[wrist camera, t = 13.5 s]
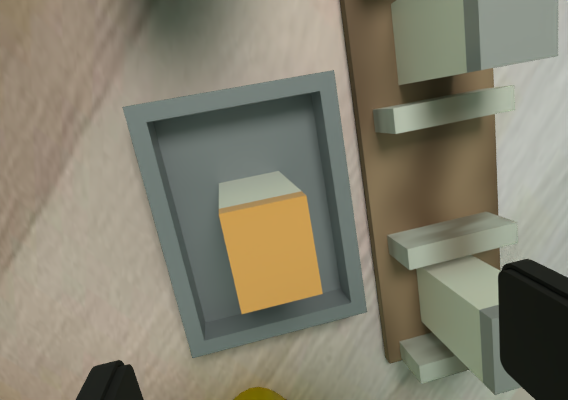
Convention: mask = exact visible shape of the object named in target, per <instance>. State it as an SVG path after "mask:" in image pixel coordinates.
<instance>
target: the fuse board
mask: <svg viewBox="0 0 568 400" xmlns="http://www.w3.org/2000/svg"><path fill="white" fill-rule="evenodd" d="M395 1H396V0H340V5H341V12H342V20H343V28H344V36H345V44H346V52H347V60H348V67H349V75H350V83H351V91H352V99H353V107H354V115H355V122H356V130H357V138H358V146H359V154H360V162H361V169H362V177H363V185H364V193H365V201H366V209H367V217H368V224H369V232H370V240H371V248H372V256H373V264H374V272H375V279H376V287H377V295H378V303H379V311H380V319H381V326H382V334H383V342H384V350H385V357H386V359H387V360H388V362H389V363H394V362H397V361H401V360H403V361H404V362H405V363H406V365H407V366H408V367H409V369H410V370H411V371H412V373H413V374H414V375H415V376H416V378H417V379H418V380H419V382H420V383H421V384H422V383H426V382H429V381H433V380H436V379H439V378H443V377H446V376H449V375H453V374H456V373H460V372H463V371H466V370H470V369H469V368H468V367H467V366H466V365H465V364H464V363H463V362H462V361H461V360H460V359H459V358H458V357H457V356H456V355H455V354H454V353H453V352H452V351H451V350H450V349H449V348H448V347H447V346H446V345H445V344H444V343H443V342H442V341H441V340H440V339H439V338H438V337H437V336H436V335H435V334H434V333H433V332H432V331H431V330H430V329H429V328H428V327H427V326H426V325H425V324H424V323H423V322H422V321H421V311H420V301H419V291H418V280H417V270H416V269H417V268H420V267H424V266H428V265H432V264H436V263H440V262H444V261H448V260H452V259H456V258H460V257H464V256H468V255H472V256H474V257H476V258H478V259H480V260H481V261H483V262H485V263H487V264H489V265H491V266H492V267H494V268H496V269H498V270H500V250H499V248H500V247H504V246H508V245H512V244H515V243H518V235H517V222H515V221H512V220H509V219H506V218H503V217H500V216H498V194H497V165H496V137H495V114H497V113H502V112H507V111H512V110H515V100H514V85H513V86H504V87H495V88H494V80H493V68H490V69H485V70H479V71H474V72H469V73H463V74H458V75H452V76H447V77H441V78H436V79H430V80H425V81H419V82H414V83H409V84H403V85H399V84H398V73H397V63H396V52H395V42H394V32H393V21H392V11H391V4H392V3H393V2H395Z"/></svg>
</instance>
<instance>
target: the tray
mask: <svg viewBox="0 0 568 400" xmlns="http://www.w3.org/2000/svg"><path fill="white" fill-rule="evenodd" d="M123 110H124V114H125V118H126V121H127V125H128V128H129V132H130V135H131V139H132V143H133V146H134V150H135V153H136V157H137V161H138V164H139V168H140V171H141V175H142V179H143V182H144V186H145V189H146V193H147V197H148V200H149V204H150V207H151V211H152V215H153V218H154V222H155V225H156V229H157V232H158V236H159V240H160V243H161V247H162V250H163V254H164V258H165V261H166V265H167V268H168V272H169V276H170V279H171V283H172V286H173V290H174V294H175V297H176V301H177V304H178V308H179V312H180V315H181V319H182V322H183V326H184V330H185V333H186V337H187V340H188V344H189V347H190V351H191V355H192V358H195V357H199V356H203V355H206V354H210V353H214V352H218V351H222V350H225V349H229V348H233V347H237V346H240V345H244V344H248V343H252V342H256V341H259V340H263V339H267V338H271V337H275V336H278V335H282V334H286V333H290V332H294V331H297V330H301V329H305V328H309V327H312V326H316V325H320V324H324V323H328V322H331V321H335V320H339V319H343V318H347V317H350V316H354V315H358V314H362V313H366V312H367V308H366V301H365V294H364V286H363V279H362V272H361V264H360V257H359V250H358V242H357V235H356V228H355V220H354V213H353V206H352V199H351V191H350V184H349V177H348V169H347V162H346V155H345V147H344V140H343V133H342V126H341V118H340V111H339V104H338V96H337V89H336V82H335V74H334V70H332V71H327V72H321V73H315V74H309V75H304V76H298V77H292V78H286V79H281V80H275V81H269V82H263V83H258V84H252V85H246V86H241V87H235V88H229V89H223V90H218V91H212V92H206V93H200V94H195V95H189V96H183V97H177V98H172V99H166V100H160V101H155V102H149V103H143V104H137V105H132V106H126V107H123ZM276 171H279V172H280V173H282V174H283V175H284V176H285V177H286V178H287V179H288V180H289V181H291V182H292V183H293V184H294V185H295V186H296V187H297V188H299V189H300V190H301V191H302V192H303V193H304V194H305V195H306V196H307V202H308V208H309V214H310V220H311V226H312V232H313V238H314V244H315V250H316V256H317V262H318V268H319V274H320V280H321V286H322V292H323V294H320V295H316V296H312V297H308V298H304V299H300V300H296V301H292V302H289V303H285V304H281V305H277V306H273V307H269V308H265V309H261V310H257V311H253V312H249V313H245V314H242V313H241V309H240V304H239V300H238V296H237V291H236V287H235V283H234V278H233V274H232V270H231V265H230V261H229V257H228V252H227V248H226V244H225V239H224V235H223V231H222V226H221V222H220V218H219V183H223V182H227V181H232V180H237V179H242V178H247V177H252V176H257V175H262V174H266V173H271V172H276Z"/></svg>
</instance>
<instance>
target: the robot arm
mask: <svg viewBox="0 0 568 400" xmlns="http://www.w3.org/2000/svg"><path fill="white" fill-rule="evenodd" d="M498 302H499V343H500V361H501V364H502V366H503V368H504V370H505V371H506V372H507V374H508V375H509V376H511V377H512V378H513V379H514V380H515V381H516V382H517V383H518V384H519V385H520V386H521V387H522V388H523V389H525V390H526V391H527V392H528V393H529V394H530V395H531V396H532V397H533V398H534V399H535V400H568V277H565V276H563V275H561V274H559V273H557V272H555V271H553V270H551V269H549V268H547V267H545V266H543V265H541V264H539V263H537V262H535V261H533V260H529V259H524V260H520V261H516V262H512V263H508V264H505V265H504V266H503V268H502V271H501V272H499V274H498ZM76 400H144V399H143V397H142V394H141V391H140V388H139V385H138V382H137V379H136V376H135V373H134V370H133V367H132V366H131V365H130V364H128V365H124V363H123V362H122V361H121V360H118V361H114V362H109V363H105V364H101V365H97V366H95V367H93V368H92V369H91V371H90V373H89V375H88V377H87V379H86V381H85V383H84V385H83V387H82V388H81V390H80V392H79V394H78V396H77V398H76Z"/></svg>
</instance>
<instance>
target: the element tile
mask: <svg viewBox="0 0 568 400" xmlns="http://www.w3.org/2000/svg"><path fill="white" fill-rule="evenodd" d="M233 400H286V399H285V398H283V397H282V396H280V395H279V394H277V393H276V392H274V391H272V390H270V389H268V388H262V387H255V388H249V389H248V390H246V391H244V392H242V393H240V394H239V395H238V396H237V397H235V398H234V399H233Z"/></svg>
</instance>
